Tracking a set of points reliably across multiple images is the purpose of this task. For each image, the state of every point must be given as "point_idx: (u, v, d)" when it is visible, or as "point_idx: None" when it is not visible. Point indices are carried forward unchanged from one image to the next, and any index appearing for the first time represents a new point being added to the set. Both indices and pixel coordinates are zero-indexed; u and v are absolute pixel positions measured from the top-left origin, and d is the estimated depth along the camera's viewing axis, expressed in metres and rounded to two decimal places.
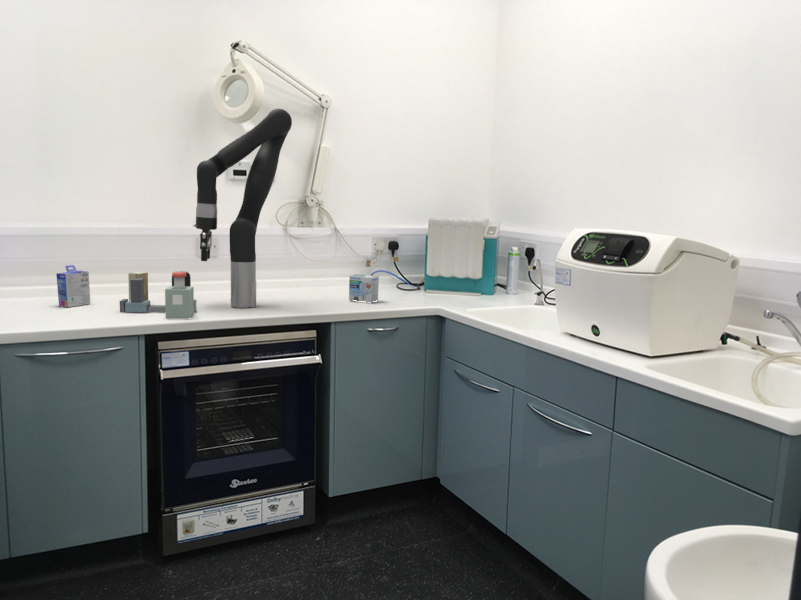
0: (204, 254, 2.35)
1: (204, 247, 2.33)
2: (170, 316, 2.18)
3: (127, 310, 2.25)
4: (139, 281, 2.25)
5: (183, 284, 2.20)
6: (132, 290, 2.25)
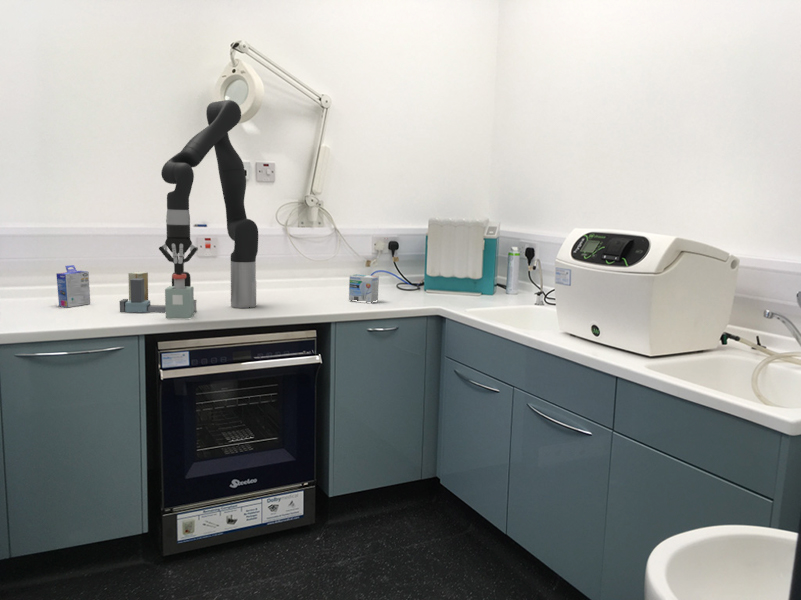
0: (183, 267, 2.19)
1: (188, 259, 2.19)
2: (170, 316, 2.18)
3: (127, 310, 2.25)
4: (139, 281, 2.25)
5: (183, 286, 2.20)
6: (132, 290, 2.25)
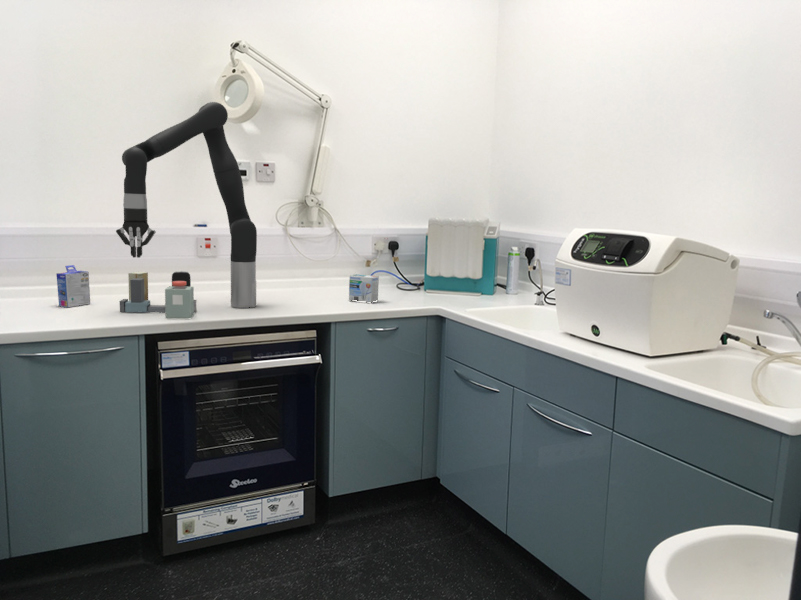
0: (141, 250, 2.25)
1: (146, 242, 2.25)
2: (170, 316, 2.18)
3: (127, 310, 2.25)
4: (139, 281, 2.25)
5: None
6: (132, 290, 2.25)
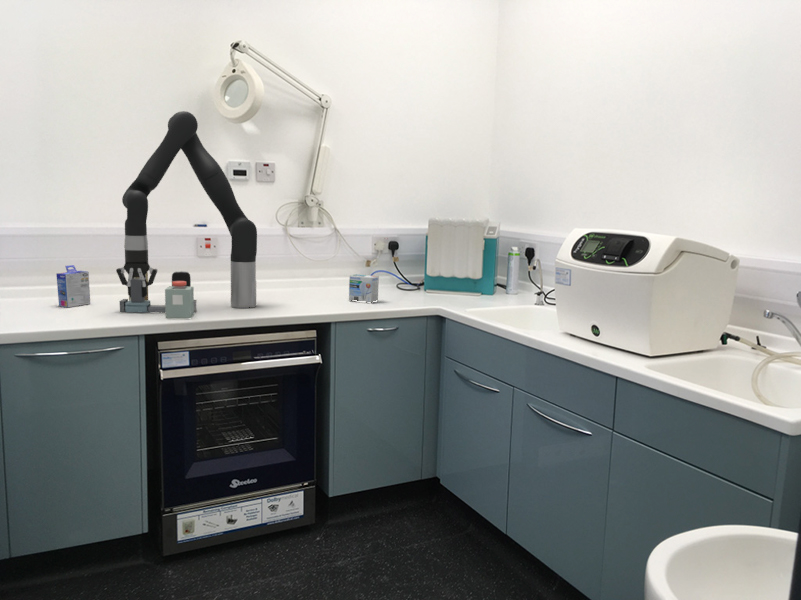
0: (146, 290, 2.28)
1: (151, 282, 2.28)
2: (170, 316, 2.18)
3: (127, 310, 2.25)
4: (139, 281, 2.25)
5: None
6: (132, 290, 2.25)
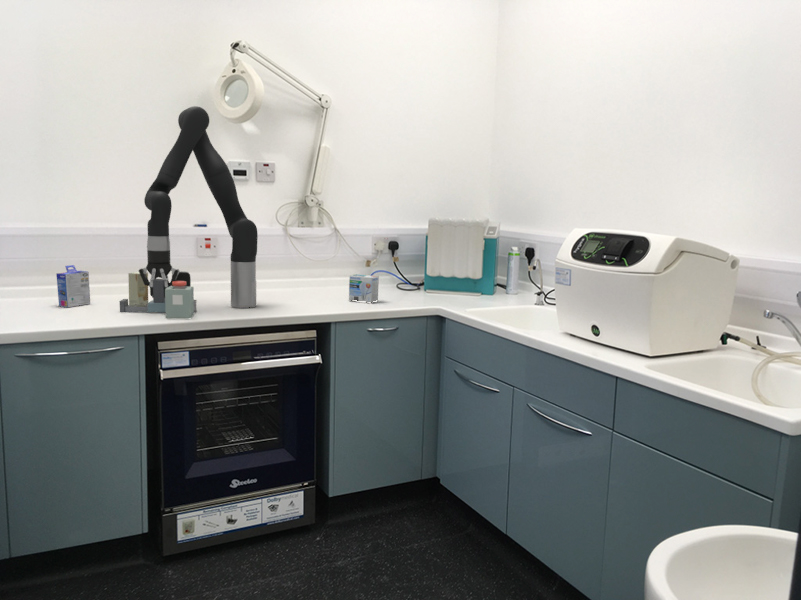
0: None
1: None
2: (170, 316, 2.18)
3: (149, 310, 2.26)
4: (161, 281, 2.26)
5: None
6: (155, 290, 2.26)
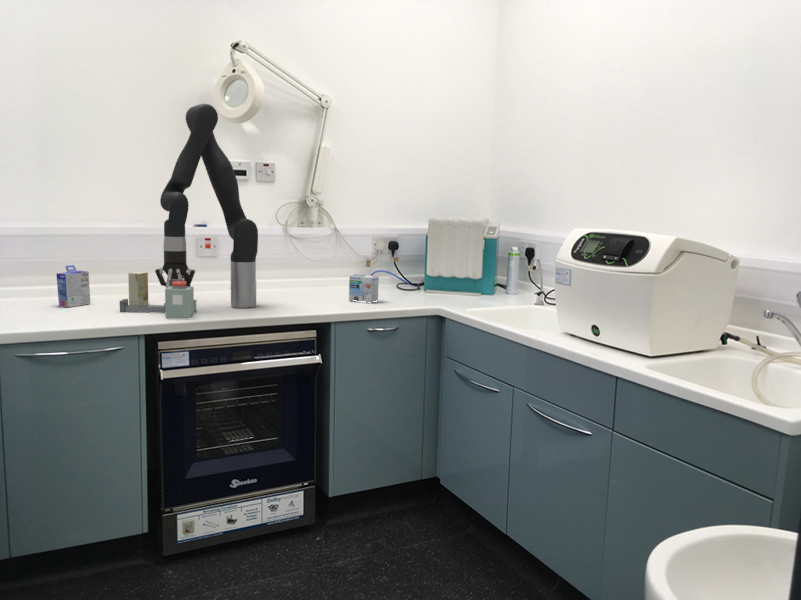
0: None
1: (189, 283, 2.30)
2: (170, 316, 2.18)
3: None
4: None
5: None
6: None
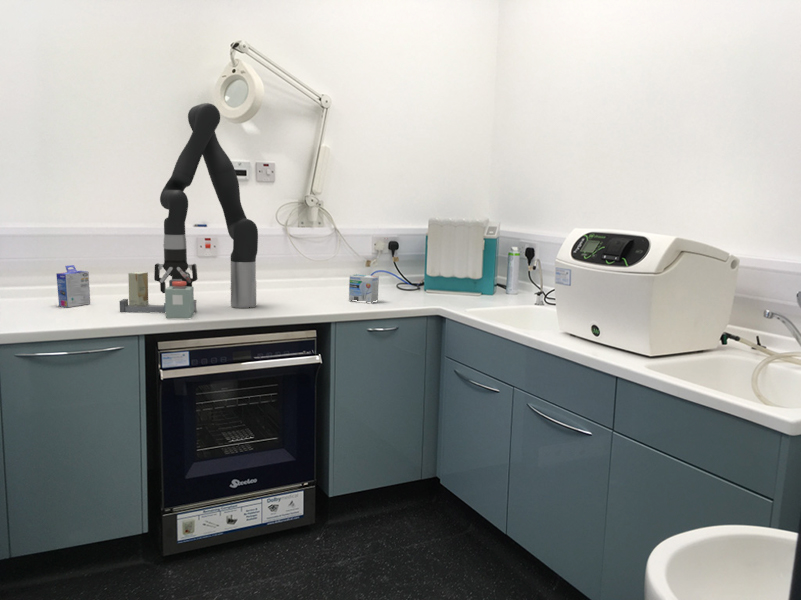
0: (191, 285, 2.30)
1: (196, 278, 2.30)
2: (170, 316, 2.18)
3: None
4: None
5: None
6: None
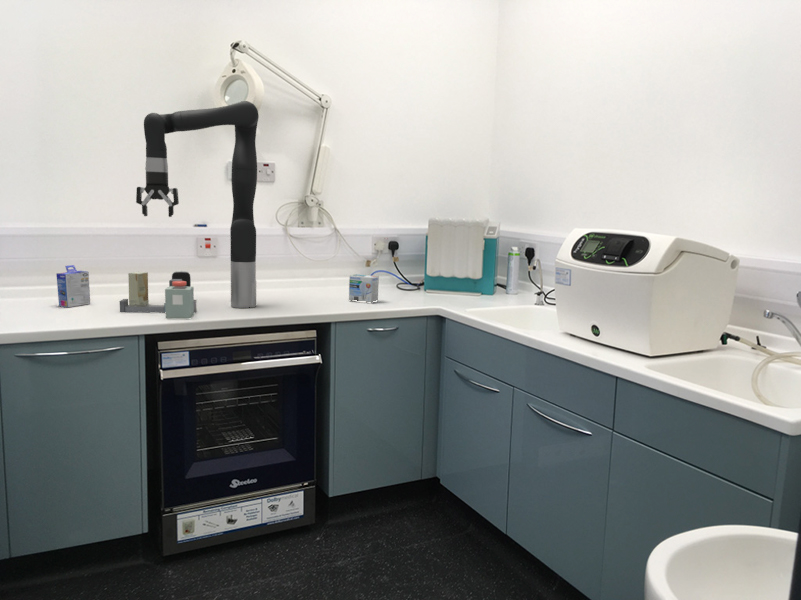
0: None
1: (177, 202, 2.35)
2: (170, 316, 2.18)
3: None
4: None
5: None
6: None
